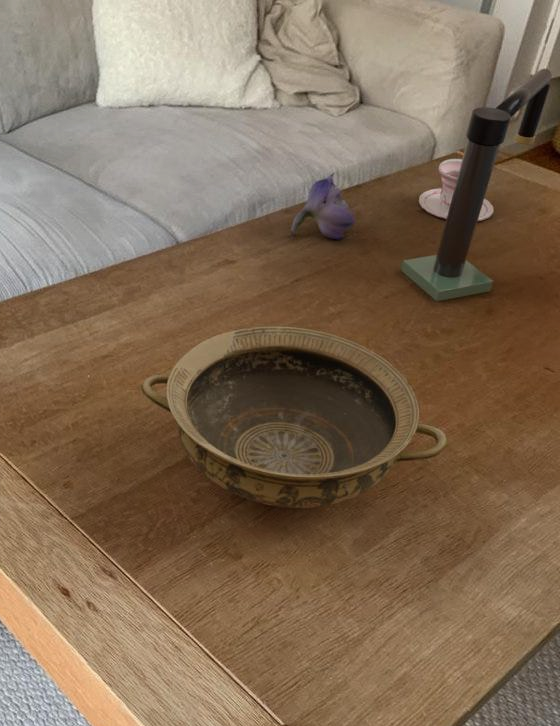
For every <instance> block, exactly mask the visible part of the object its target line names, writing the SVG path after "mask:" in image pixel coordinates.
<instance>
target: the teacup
mask: <svg viewBox="0 0 560 726" xmlns="http://www.w3.org/2000/svg"><path fill="white" fill-rule="evenodd" d="M462 159H463V158H451V159H446V160H444V161H442V162H441V163H440V164H439V165H438V174H439V175H440V176H441V178H440V181H441V184H442V185H441V188H433V189H429V190H426V191H424V192H422V193H421V194H420V195H419V199H418V203H419V205H420V207H421V208H422V209H423V210H425V211H426V212H427V213H428V214H430V215H433V216H435V217H437V218H440V219H444V220H446V219H447V215H448V211H449V208H450V204H451V200H452V196H453V193H454V189H455V185H456V181H457V178H458V174H459V170H460V166H461V163H462ZM493 214H494V206H493V205H492V203H491V202H490V201H489V200H487V199H486V198H484V201H483V205H482V208H481V211H480V215H479V218H478V222H481V221H482V222H483V221H484V220H487V219H489V218H491V216H492V215H493Z"/></svg>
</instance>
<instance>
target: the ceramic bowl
mask: <svg viewBox="0 0 560 726" xmlns="http://www.w3.org/2000/svg"><path fill="white" fill-rule="evenodd" d="M159 384H160V385H161V384H166V387H165V394H166V397H165V396H162V394H159V393H158V392H157V391H155V390H154V389H153V386H155V385H159ZM141 391H142V394H143V395H144V396H145V397H146V398H147V399H148V400H149V401H151V402H152V403H153V404H155V405H157V406H158V407H160V408H162V409H163V410H165V411H167V412H168V413H170V414H171V416H172V418H174V420H175V422H176V424H177V431H178V436H179V440H180V443H181V446H182V447H183V450H184V451H185V453H186V455H187V457H188V458H189V460H190V461H191V463H192V464H194V466H195V467H196V468H197V469H198V470H199V471H200V472H201V473H202V474H203V475H204V476H205V477H207V478H208V479H209V480H210V481H212V482H213V483H214V484H216V485H217V486H219V487H221V488H222V489H224V490H226V491H228V492H230V493H232V494H235V495H237V496H239V497H240V498H243V499H246V500H249V501H253V502H255V503H258V504H259V503H260V504H265V505H268V506H274V507H280V508H293V509H308V508H319V507H326V506H330V505H336V504H339V503H343V502H345V501H348V500H351V499H353V498H355V497H359V496H360V495H362V494H364V493H366V492H367V491H369V490H370V489H372V488H374V487H375V486H376V485H377V484H378V483H380V482H381V481H382V480H383V479H384V478H385V477H386V476H387V474H388V473H389V472H390V471H391V470H392V469H393V468H394V467H395V466H396V465H397V464H400V463H404V462H405V463H406V462H419V461H425V460H429V459H432V458H435V457H437V456H438V455H440V454H441V453H442V452H443V451H444V450H445V448H446V446H447V443H448V441H447V437H446V434H445V433H444V432H443V431H442V430H441V429H440V428H437V427H434V426H432V425H428V424H424V423H419V419H420V407H419V403H418V399H417V397H416V393H415V392H414V390H413V388H412V386H411V385H409V382H408V381H407V379H406V378H405V377H404V376H403V374H402V373H401V372H400V371H399V370H398V369H397V368H395V366H393V365H392V364H391V363H390V362H389V361H387V360H386V359H384V358H383V357H382V356H380V355H379V354H377V353H376V352H374V351H372V350H371V349H369V348H367V347H365V346H363V345H361V344H360V343H356V342H355V341H352V340H349V339H347V338H344V337H341V336H338V335H335V334H331V333H328V332H324V331H319V330H314V329H309V328H302V327H292V326H272V325H271V326H258V327H257V326H256V327H250V328H241V329H237V330H232V331H226V332H224V333H220V334H217V335H215V336H212V337H209V338H208V339H205V340H203V341H201V342H200V343H198V344H197V345H195V346H194V347H193V348H191V349H190V350H188V352H186V353H185V354H184V355H183V356H182V357H181V358H180V359H179V360H178V361H177V362H176V363H175V365H174V366H173V368H172V369H171V371H170V373H169V374H155V375H151V376H148V377H147V378H146V379H144V380H143V382H142V383H141ZM415 434H421V435H426V436H428V437H430V438H433V439H434V440H435V441H436V444H435V445H434V446H432V447H430V448H428V449H425V450H421V451H404V450H405V449H406V448H407V446H408V445H409V444H410V443H411V441H412V438H413V436H414V435H415Z"/></svg>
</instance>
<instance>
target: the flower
mask: <svg viewBox="0 0 560 726" xmlns="http://www.w3.org/2000/svg"><path fill="white" fill-rule="evenodd" d="M335 174H336V172H333V173H330V174H329V176H327V177H326V178H323V179H319V180H317V181H315V182H314V183H313V184H311V187H310V189H309V191H308V197H307V200H306V203H305V205H304V206H303V207H302V209H301V210H300V211H298V213H297V214H296V216H295V217H294V219H293V221H292V224H291V229H290V232H291V235H293V236H296V235H297V232H298V230H299V228H300V226H301V225H302V224H303V223H304V221H305V220H306V219H307V218H312V219H313V220H314V221H315V223H316V224H317V227H318V229H319V231H320V233H321V234H322V235H323V236H325V237H327V238H328V239H331V240H339V241H340V240H342V239H344V238H345V237H346V236H345V235H343V234H344V233H345V232H347V231H348V230H349V229H351V228H352V227H354V226H355V223H356V221H355V215H354V212H353V210H349V209H350V204H349V203H347V202H346V200H345V199H342V200H341V198H342V195H343V192H341V189H340V188H337V185H336V184H335V183H334V178H333V177H334V175H335ZM340 200H341V201H340Z"/></svg>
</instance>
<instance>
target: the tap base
mask: <svg viewBox="0 0 560 726" xmlns="http://www.w3.org/2000/svg"><path fill="white" fill-rule="evenodd" d="M500 147H501V144H499V145H483V144H479V143H475V142H473V141H471V140H469V139H468V138H467V141H466V144H465V148H464V152H463V156H462V158H461V159H462V163H461V166H460V170H459V174H458V178H457V181H456V185H455V189H454V193H453V196H452V200H451V204H450V208H449V211H448V215H447V219H445V223H444V226H443V231H442V234H441V238H440V241H439V246H438V249H437V253H436V254H434V255H427V256H422V257H421V256H420V257H417V258H410V259H403V260H402V264H401V268H400V271H401V272H402V273H403V274H404V275H405V276H406V277H408V278H409V279H410V280H411V281H412V282H413V283H414V284H416V286H418V287H419V288H420V289H421V290H423V291H424V292H425V293H426V294H427V295H428V296H430V297H431V298H432V300H434V301H435V302H441V301H447V300H451V299H457V298H462V297H468V296H472V295H473V296H474V295H478V294H483V293H489V292H491V290H492V287H493V284H494V280H493V279H491V278H490V277H489V276H488V275H486V274H485V273H483V272H482V271H481V270H480V269H478V268H477V267H476V266H474V265H473V264H472V263H470V261H468V260H467V258H468V255H469V251H470V249H471V244H472V241H473V240H474V239H473V238H474V235H475V231H476V228H477V226H478V222H479V221H478V218H479V215H480V211H481V208H482V205H483V201H484V199H486V198H485V197H486V194H487V190H488V188H489V183H490V181H491V177H492V174H493V170H494V167H495V164H496V160H497V157H498V154H499V150H500Z"/></svg>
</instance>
